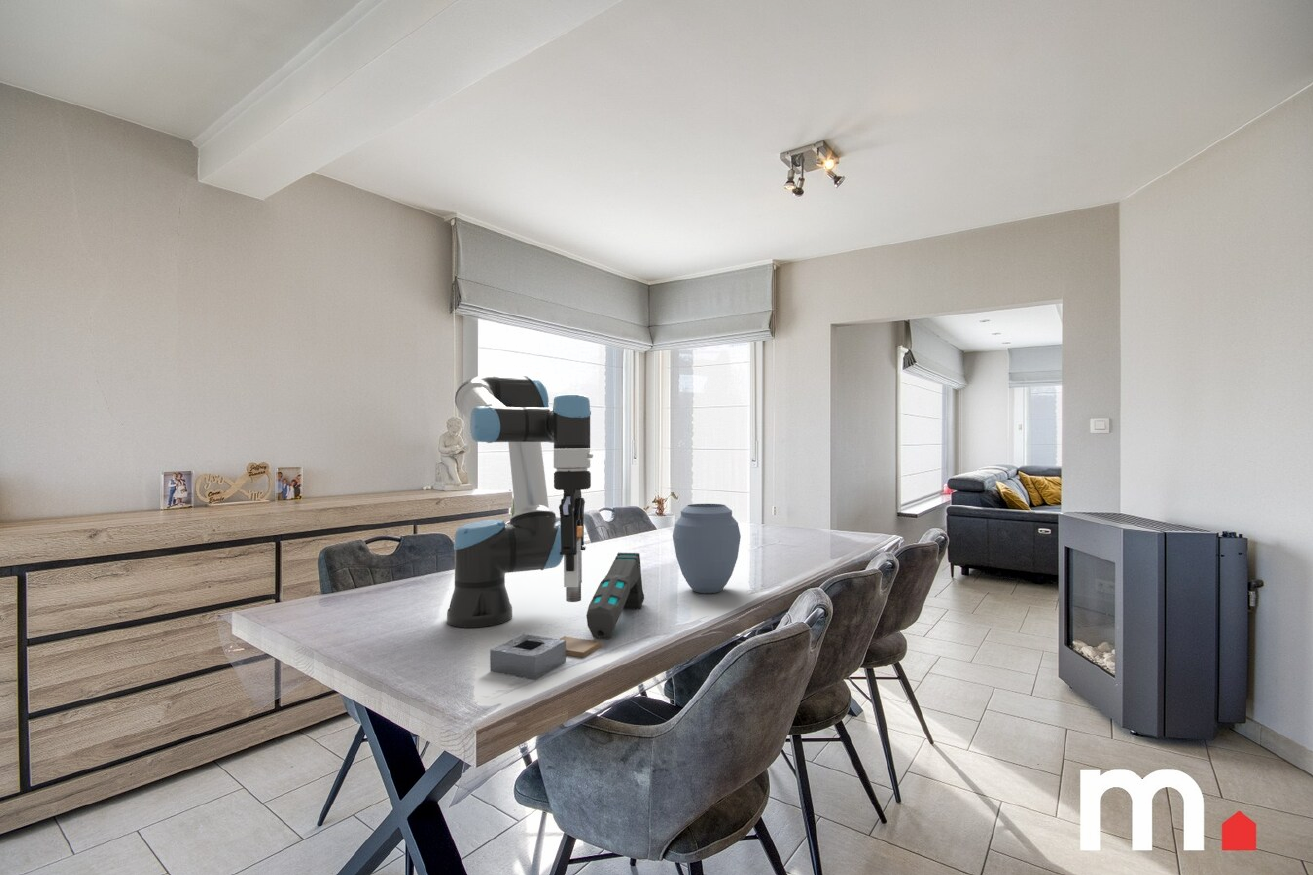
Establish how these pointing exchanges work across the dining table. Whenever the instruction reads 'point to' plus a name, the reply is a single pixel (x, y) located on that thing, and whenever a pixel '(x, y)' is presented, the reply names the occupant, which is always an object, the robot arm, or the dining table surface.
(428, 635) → the dining table surface
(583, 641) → the rest pad
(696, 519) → the vase
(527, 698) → the dining table surface
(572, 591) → the capped test tube
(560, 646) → the block
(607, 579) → the gun
